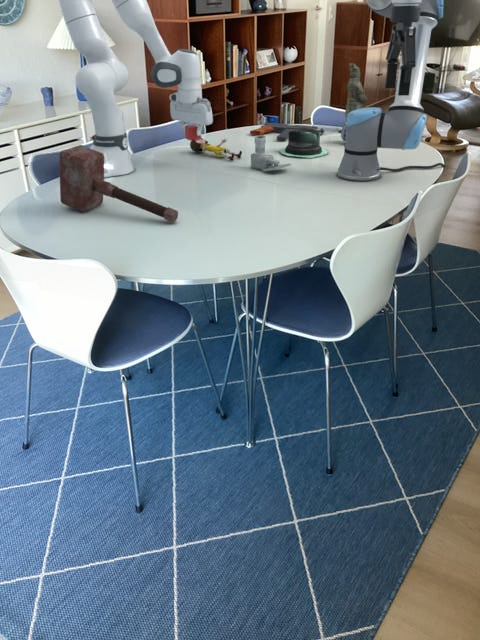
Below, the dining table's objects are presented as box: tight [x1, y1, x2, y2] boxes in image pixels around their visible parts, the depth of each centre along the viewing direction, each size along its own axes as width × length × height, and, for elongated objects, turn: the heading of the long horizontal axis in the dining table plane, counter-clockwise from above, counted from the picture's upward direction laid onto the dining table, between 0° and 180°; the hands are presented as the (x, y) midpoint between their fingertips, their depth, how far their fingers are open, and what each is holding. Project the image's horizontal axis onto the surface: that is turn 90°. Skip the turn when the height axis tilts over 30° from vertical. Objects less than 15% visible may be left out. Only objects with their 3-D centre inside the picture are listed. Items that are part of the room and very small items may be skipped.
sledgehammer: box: [59, 144, 179, 223], centre depth 170 cm, size 17×10×40 cm
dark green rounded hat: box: [279, 128, 328, 159], centre depth 234 cm, size 15×19×20 cm
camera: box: [250, 134, 292, 173], centre depth 210 cm, size 9×12×15 cm
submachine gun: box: [249, 122, 325, 141], centre depth 263 cm, size 32×3×25 cm
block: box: [184, 124, 202, 141], centre depth 217 cm, size 4×5×5 cm
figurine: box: [189, 137, 243, 162], centre depth 232 cm, size 13×8×25 cm
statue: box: [344, 62, 368, 123], centre depth 262 cm, size 11×9×30 cm
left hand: (192, 134), depth 217 cm, fingers closed on block, 5 cm apart
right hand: (396, 91), depth 157 cm, fingers open, 13 cm apart
